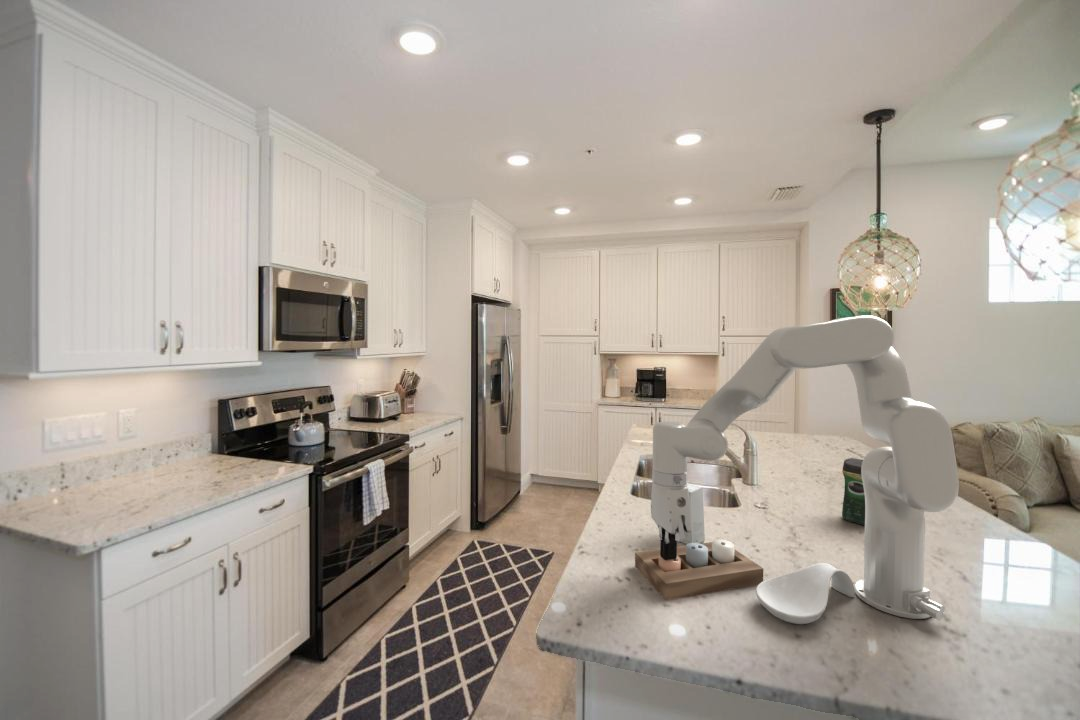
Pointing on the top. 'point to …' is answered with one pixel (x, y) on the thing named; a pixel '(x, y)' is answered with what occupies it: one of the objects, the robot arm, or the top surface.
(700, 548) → the two-pip button
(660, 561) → the three-pip button
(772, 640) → the top surface
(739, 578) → the wooden three-slot caddy
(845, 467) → the coffee jar
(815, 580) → the spoon rest
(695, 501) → the skincare box
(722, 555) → the one-pip button
